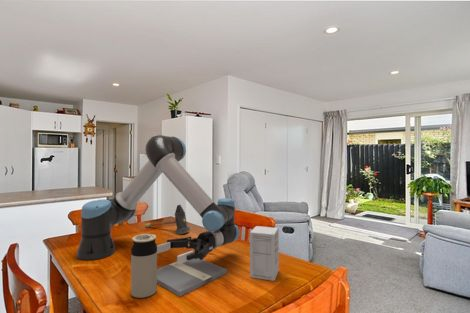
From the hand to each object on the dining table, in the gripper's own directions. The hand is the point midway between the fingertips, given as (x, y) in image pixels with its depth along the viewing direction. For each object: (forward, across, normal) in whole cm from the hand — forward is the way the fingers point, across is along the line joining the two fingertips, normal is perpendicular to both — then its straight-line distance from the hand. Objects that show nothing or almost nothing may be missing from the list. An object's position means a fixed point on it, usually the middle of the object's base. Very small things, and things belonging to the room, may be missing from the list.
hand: (165, 255), depth 91 cm
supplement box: (-29, -22, -10) cm, 38 cm away
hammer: (-37, +54, -10) cm, 67 cm away
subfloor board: (-9, -1, -10) cm, 13 cm away
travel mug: (+8, 0, -10) cm, 13 cm away
